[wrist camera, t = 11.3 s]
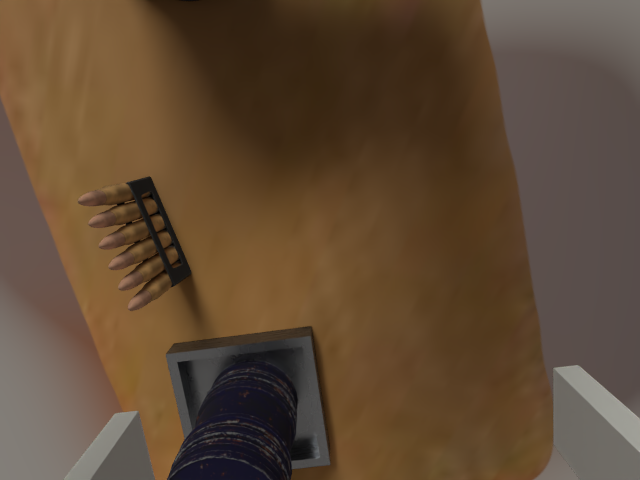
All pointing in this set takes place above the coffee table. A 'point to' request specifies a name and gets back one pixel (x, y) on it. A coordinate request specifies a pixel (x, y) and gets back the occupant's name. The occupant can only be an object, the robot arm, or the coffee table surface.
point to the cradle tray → (272, 347)
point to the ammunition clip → (139, 238)
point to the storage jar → (242, 427)
